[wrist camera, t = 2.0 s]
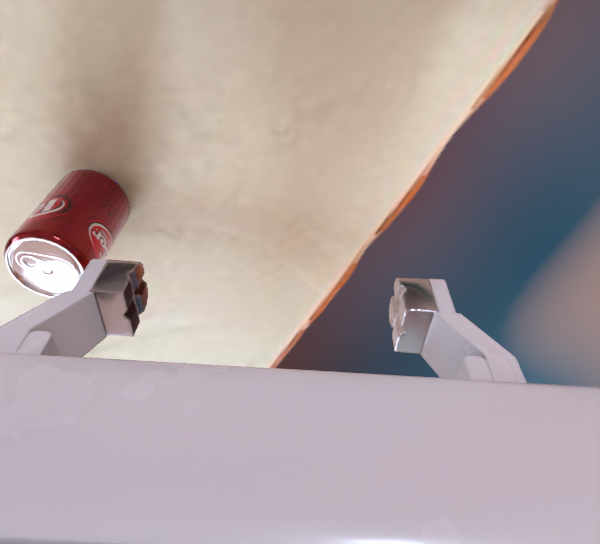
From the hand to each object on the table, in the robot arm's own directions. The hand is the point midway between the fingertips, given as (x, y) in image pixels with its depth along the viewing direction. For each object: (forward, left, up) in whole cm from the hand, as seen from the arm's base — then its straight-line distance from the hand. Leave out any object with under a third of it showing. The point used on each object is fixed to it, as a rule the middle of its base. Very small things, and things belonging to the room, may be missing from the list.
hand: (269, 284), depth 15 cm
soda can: (+4, -26, -32) cm, 41 cm away
